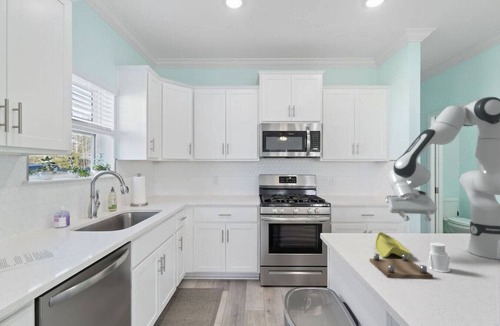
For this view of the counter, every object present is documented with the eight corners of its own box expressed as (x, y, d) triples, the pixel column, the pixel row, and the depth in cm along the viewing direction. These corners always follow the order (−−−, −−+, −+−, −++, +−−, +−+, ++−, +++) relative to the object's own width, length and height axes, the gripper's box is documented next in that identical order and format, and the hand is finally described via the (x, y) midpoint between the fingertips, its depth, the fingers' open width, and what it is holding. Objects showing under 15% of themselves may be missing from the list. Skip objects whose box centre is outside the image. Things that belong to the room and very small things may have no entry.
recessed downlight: (443, 265, 104) (442, 241, 104) (456, 272, 97) (454, 246, 97) (423, 266, 104) (421, 241, 105) (434, 273, 97) (432, 247, 98)
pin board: (408, 262, 108) (408, 253, 108) (432, 278, 92) (432, 268, 92) (369, 261, 109) (369, 252, 109) (387, 277, 93) (387, 267, 93)
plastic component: (413, 255, 110) (391, 244, 111) (405, 269, 111) (383, 258, 112) (395, 239, 130) (377, 230, 131) (388, 251, 130) (370, 242, 132)
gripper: (386, 191, 122) (396, 215, 112) (430, 192, 121) (445, 217, 111) (382, 199, 127) (391, 223, 117) (424, 200, 125) (438, 224, 115)
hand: (418, 220), depth 114 cm, fingers open, 8 cm apart
